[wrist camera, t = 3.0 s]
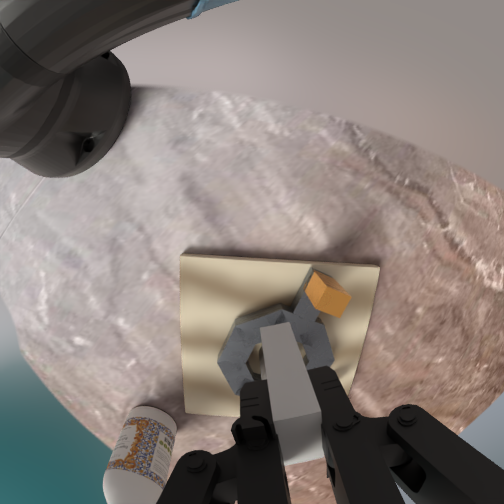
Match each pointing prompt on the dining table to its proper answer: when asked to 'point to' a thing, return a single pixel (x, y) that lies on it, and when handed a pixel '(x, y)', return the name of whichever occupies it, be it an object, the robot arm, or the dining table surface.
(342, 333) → the post base
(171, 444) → the bath foam
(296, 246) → the dining table surface
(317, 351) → the flange
